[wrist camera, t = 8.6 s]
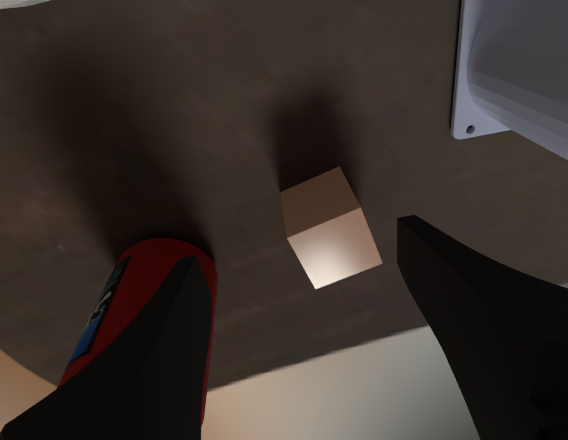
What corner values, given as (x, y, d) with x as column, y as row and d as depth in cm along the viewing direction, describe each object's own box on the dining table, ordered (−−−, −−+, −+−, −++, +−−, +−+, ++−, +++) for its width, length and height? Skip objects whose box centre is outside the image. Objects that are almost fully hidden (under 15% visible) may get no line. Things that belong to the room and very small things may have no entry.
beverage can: (100, 243, 24) (-9, 432, 14) (200, 220, 23) (164, 395, 13) (143, 313, 27) (82, 503, 17) (231, 294, 27) (220, 476, 17)
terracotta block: (339, 166, 22) (360, 207, 18) (359, 215, 24) (382, 263, 20) (280, 192, 23) (286, 238, 19) (304, 238, 25) (315, 289, 21)
